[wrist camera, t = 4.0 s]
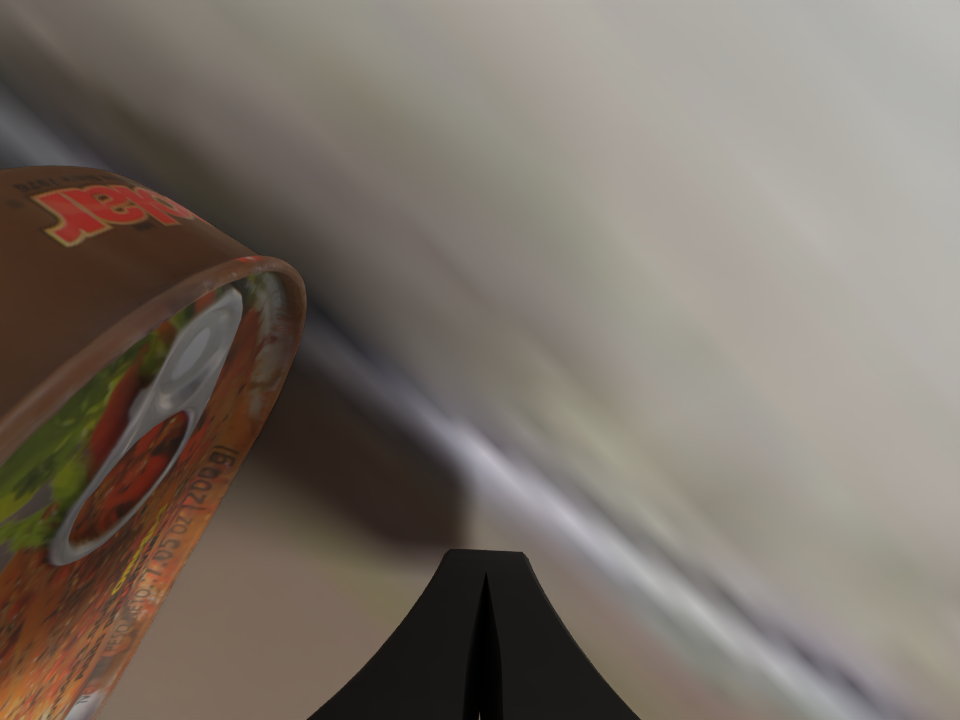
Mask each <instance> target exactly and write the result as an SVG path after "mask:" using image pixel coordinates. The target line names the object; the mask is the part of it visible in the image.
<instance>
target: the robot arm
mask: <svg viewBox="0 0 960 720" xmlns="http://www.w3.org/2000/svg"><path fill="white" fill-rule="evenodd" d="M479 713H480V720H641V719H640V718H639V717H638V716H637V715H636V714H635V713H634V712H633V711H632V710H631V709H630V708H629V707H628V706H627V705H626V703H625V702H624V701H623V700H622V699H621V698H620V697H619V696H618V695H617V694H616V692H615V691H614V690H613V689H612V688H611V687H610V685H609V684H608V683H607V682H606V681H605V680H604V678H603V677H602V676H601V675H600V673H599V672H598V671H597V670H596V668H595V667H594V666H593V664H592V663H591V662H590V660H589V659H588V658H587V657H586V655H585V654H584V653H583V651H582V650H581V649H580V647H579V646H578V644H577V643H576V641H575V640H574V639H573V637H572V636H571V634H570V633H569V631H568V630H567V628H566V627H565V625H564V624H563V622H562V620H561V619H560V617H559V616H558V614H557V613H556V611H555V610H554V608H553V606H552V605H551V603H550V601H549V600H548V598H547V596H546V594H545V592H544V591H543V589H542V587H541V585H540V583H539V581H538V579H537V577H536V575H535V573H534V571H533V569H532V567H531V564H530V562H529V559H528V558H527V557H526V555H525V554H524V553H523V552H512V551H491V550H470V549H450V550H449V551H448V552H446V553H445V554H444V556H443V558H442V561H441V563H440V565H439V567H438V569H437V570H436V572H435V574H434V576H433V577H432V579H431V581H430V582H429V584H428V585H427V587H426V588H425V590H424V592H423V593H422V595H421V596H420V597H419V599H418V600H417V602H416V603H415V604H414V606H413V607H412V609H411V610H410V611H409V613H408V614H407V616H406V617H405V618H404V620H403V621H402V622H401V624H400V625H399V626H398V627H397V628H396V630H395V631H394V632H393V633H392V634H391V636H390V637H389V638H388V639H387V641H386V642H385V643H384V644H383V645H382V647H381V648H380V649H379V650H378V651H377V652H376V654H375V655H374V656H373V657H372V658H371V659H370V660H369V661H368V662H367V663H366V664H365V666H364V667H363V668H362V669H361V670H360V671H359V672H358V673H357V674H356V675H355V676H354V677H353V678H352V679H351V680H350V681H349V682H348V683H347V684H346V685H345V686H344V687H343V688H342V689H341V690H340V691H338V692H337V693H336V694H335V695H334V696H333V697H332V698H331V699H330V700H328V701H327V702H326V703H325V704H324V705H323V706H322V707H320V708H319V709H318V710H317V711H316V712H315V713H314V714H312V715H311V716H310V717H309V718H308V719H307V720H479Z"/></svg>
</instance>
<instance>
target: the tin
mask: <svg viewBox="0 0 960 720" xmlns="http://www.w3.org/2000/svg"><path fill="white" fill-rule="evenodd" d="M306 308H307V299H306V291H305V284H304V282H303V279H302V277H301V276H300V274H299V273H298V272H297V270H296V269H295V268H294V267H292V266H291V265H290V264H288V263H287V262H286V261H283V260H281V259H278V258H276V257H270V256H260V255H258V254H257V253H255V252H254V251H252V250H250V249H249V248H247V247H246V246H244V245H242V244H241V243H239V242H238V241H236V240H234V239H233V238H231V237H230V236H228V235H226V234H225V233H223V232H222V231H220V230H219V229H217V228H216V227H214V226H212V225H211V224H209V223H208V222H206V221H205V220H203V219H201V218H200V217H198V216H197V215H195V214H194V213H192V212H191V211H189V210H188V209H186V208H184V207H183V206H181V205H180V204H178V203H176V202H174V201H173V200H171V199H169V198H167V197H166V196H164V195H162V194H160V193H158V192H156V191H154V190H152V189H150V188H148V187H146V186H144V185H142V184H140V183H138V182H136V181H134V180H131V179H129V178H126V177H124V176H121V175H119V174H115V173H112V172H108V171H105V170H101V169H94V168H86V167H75V166H31V167H19V168H10V169H1V170H0V720H95V719H96V718H97V717H98V715H99V713H100V712H101V710H102V708H103V707H104V705H105V703H106V702H107V700H108V698H109V697H110V695H111V693H112V691H113V690H114V688H115V686H116V684H117V683H118V681H119V679H120V678H121V676H122V674H123V672H124V670H125V668H126V667H127V665H128V664H129V662H130V660H131V658H132V656H133V655H134V653H135V651H136V649H137V648H138V646H139V644H140V642H141V640H142V638H143V636H144V635H145V633H146V631H147V630H148V628H149V626H150V625H151V623H152V621H153V619H154V618H155V616H156V614H157V612H158V610H159V608H160V606H161V605H162V603H163V601H164V600H165V598H166V596H167V595H168V593H169V591H170V589H171V587H172V586H173V584H174V582H175V580H176V579H177V577H178V575H179V573H180V572H181V570H182V568H183V566H184V565H185V563H186V561H187V560H188V558H189V556H190V554H191V552H192V551H193V549H194V547H195V545H196V544H197V542H198V540H199V538H200V537H201V535H202V533H203V532H204V530H205V528H206V526H207V525H208V523H209V521H210V520H211V518H212V516H213V514H214V513H215V511H216V509H217V507H218V506H219V504H220V502H221V500H222V499H223V497H224V495H225V493H226V491H227V490H228V488H229V486H230V484H231V483H232V481H233V479H234V477H235V475H236V474H237V472H238V470H239V468H240V467H241V465H242V463H243V461H244V460H245V458H246V456H247V454H248V453H249V451H250V449H251V447H252V446H253V444H254V442H255V440H256V439H257V437H258V435H259V433H260V431H261V429H262V427H263V425H264V423H265V422H266V420H267V418H268V417H269V414H270V412H271V410H272V408H273V406H274V404H275V402H276V400H277V398H278V396H279V394H280V391H281V388H282V386H283V384H284V382H285V379H286V377H287V374H288V372H289V370H290V367H291V365H292V362H293V360H294V357H295V355H296V352H297V350H298V347H299V343H300V340H301V337H302V333H303V329H304V326H305V316H306Z"/></svg>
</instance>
